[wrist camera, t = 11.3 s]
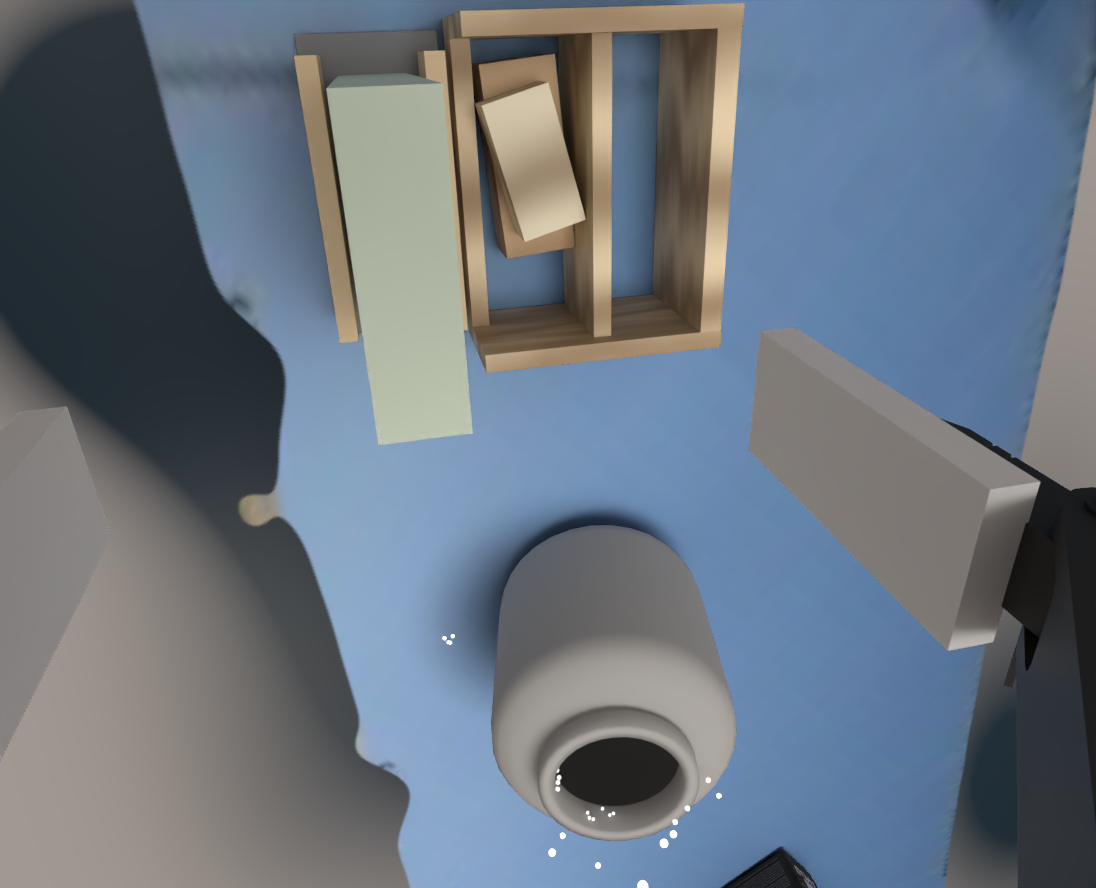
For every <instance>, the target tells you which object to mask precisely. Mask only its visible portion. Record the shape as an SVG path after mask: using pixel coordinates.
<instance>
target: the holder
mask: <svg viewBox="0 0 1096 888" xmlns="http://www.w3.org/2000/svg"><path fill="white" fill-rule="evenodd" d="M294 35H295V41H296V47H297V54H298V56H294V60H295V66H296V72H297V78H298V85H299V91H300V97H301V103H302V109H303V116H304V122H305V128H306V134H307V140H308V147H309V153H310V159H311V165H312V172H313V178H314V184H315V190H316V196H317V203H318V209H319V215H320V221H321V227H322V234H323V240H324V246H325V252H326V258H327V265H328V271H329V277H330V283H331V290H332V296H333V302H334V308H335V314H336V321H337V327H338V333H339V339H340V343H346V342H356V341H359V333H362V329H361V322H360V315H359V308H358V301H357V295H356V288H355V281H354V274H353V267H352V260H351V254H350V247H349V240H348V233H347V226H346V220H345V213H344V206H343V199H342V192H341V185H340V179H339V172H338V165H337V158H336V151H335V145H334V138H333V131H332V124H331V117H330V110H329V104H328V97H327V90H326V88H327V87H328V86H329V85H330V84H331V83H332V82H333V81H334V80H335V78H336V77H337V76H342V75H367V74H391V73H407V74H411V75H415V76H418V77H422V78H426V79H429V80H433V81H436V82H440V83H443V90H444V102H445V114H446V126H447V137H448V149H449V161H450V173H451V184H452V196H453V208H454V220H455V231H456V243H457V255H458V267H459V278H460V290H461V302H462V314H463V325H464V331H465V330H468V324H467V312H466V300H465V288H464V276H463V264H462V252H461V240H460V227H459V215H458V203H457V191H456V179H455V167H454V155H453V143H452V131H451V118H450V106H449V94H448V82H447V70H446V58H445V50H441V51H438V46H437V35H436V30H414V31H381V32H349V33H317V34H294Z"/></svg>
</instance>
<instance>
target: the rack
mask: <svg viewBox="0 0 1096 888" xmlns="http://www.w3.org/2000/svg"><path fill="white" fill-rule="evenodd" d="M743 17H744V3H740V4H702V5H665V6H627V7H590V8H553V9H515V10H478V11H459V12H457V13H454V14H452V15H450V16H448V17H446V18H443V19H442V25H443V37H444V49H445V58H446V70H447V82H448V94H449V106H450V118H451V131H452V143H453V155H454V167H455V179H456V191H457V203H458V215H459V227H460V240H461V252H462V264H463V276H464V288H465V300H466V312H467V324H468V330H469V333H470V335H471V337H472V340H473V342H474V344H475V347H476V349H477V351H478V354H479V356H480V359H481V361H482V363H483V366H484V368H485V370H486V373H492V372H501V371H510V370H519V369H528V368H537V367H546V366H555V365H564V364H573V363H581V362H590V361H599V360H608V359H617V358H626V357H635V356H644V355H653V354H662V353H671V352H680V351H689V350H698V349H707V348H716V347H720V344H721V318H722V304H723V289H724V275H725V261H726V246H727V232H728V218H729V203H730V189H731V175H732V160H733V146H734V132H735V117H736V103H737V89H738V74H739V60H740V46H741V31H742V28H743ZM651 33H660V46H659V82H658V118H657V153H656V189H655V225H654V260H653V294H652V295H642V296H631V297H621V298H611V244H612V35H621V34H651ZM531 37H558V69H559V99H560V108H561V117H562V127H563V136H564V141H565V145H566V149H567V152H568V156H569V159H570V163H571V167H572V170H573V174H574V178H575V181H576V185H577V189H578V192H579V196H580V199H581V203H582V207H583V210H584V214H585V218H586V220H583V221H581V222H578V223H575V224H573V229H574V239H575V247H572V248H566V249H563V275H564V303H559V304H549V305H539V306H528V307H518V308H508V309H497V310H489V309H488V295H487V280H486V266H485V252H484V237H483V223H482V208H481V194H480V180H479V165H478V151H477V136H476V122H475V108H474V93H473V79H472V64H471V50H470V40H471V39H501V38H531Z"/></svg>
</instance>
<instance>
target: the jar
mask: <svg viewBox="0 0 1096 888" xmlns="http://www.w3.org/2000/svg"><path fill="white" fill-rule="evenodd" d="M454 637H455V635H454V634H452V635H451V638H454ZM446 639H447V637H446V636H443V640H446ZM447 644H449V645H451V644H452V641H449V640H448V641H447ZM491 729H492V743H493V753H494V756H495V759H496V762H497V765H498V768H499V770H500V771H501V773H502V775H503V776H504V778H505V779H506V781H507V782H508V784H509V785H510V786H511V787H512V788H513V790H514V791H515V792H516V793H517V794H518V795H519V796H520V797H521V798H522V799H524V800H525V801H526V802H527V803H528V804H529V805H530V806H532V807H533V808H535V809H536V810H538V811H540V812H541V813H543V814H544V815H547V816H549V817H551V818H553V819H554V820H555V821H556V822H557V823H558V824H560V825H561V826H563V827H565V828H566V829H568V830H569V831H572V832H574V833H576V834H579V835H581V836H585V837H589V838H592V839H597V840H606V841H626V840H632V839H639V838H643V837H646V836H649V835H653V834H655V833H658V832H660V831H662V830H664V829H666V828H668V827H670V826H671V825H672V824H674V825H676V824H677V823H678V820H680V819H681V818H682V817H683V816H684V815H685V814H686V813H687V812H688V811H689V810H690V807H691V806H692V805H694V804H695V803H697V802H698V801H700V800H701V799H702V798H703V797H704V796H705V795H706V794H707V793H708V792H709V791H710V790H711V789H712V788H713V787H714V786H715V784H716V783H717V781H718V780H719V778H720V777H721V775H722V774H723V772H724V771H725V769H726V767H727V766H728V764H729V761H730V758H731V756H732V753H733V750H734V748H735V740H736V731H737V728H736V721H735V714H734V708H733V702H732V697H731V694H730V691H729V687H728V684H727V681H726V678H725V674H724V671H723V668H722V664H721V661H720V658H719V654H718V651H717V648H716V645H715V641H714V638H713V635H712V631H711V628H710V625H709V621H708V618H707V615H706V612H705V608H704V605H703V602H702V598H701V595H700V592H699V589H698V587H697V585H696V582H695V580H694V578H693V575H692V573H691V572H690V570H689V568H688V567H687V565H686V564H685V563H684V561H683V560H682V559H681V557H680V556H679V555H678V554H677V553H676V552H675V551H674V550H672V549H671V548H670V547H669V546H668V545H667V544H665V543H664V542H662V541H660V540H658V539H656V538H655V537H653V536H651V535H649V534H647V533H644V532H641V531H638V530H635V529H632V528H626V527H620V526H613V525H596V526H586V527H581V528H576V529H570V530H568V531H565V532H563V533H560V534H557V535H555V536H552V537H550V538H549V539H547V540H545V541H544V542H542V543H540V544H539V545H537V546H535V547H534V548H533V549H532V550H531V551H530V552H529V553H528V554H526V555H525V556H524V557H523V558H522V559H521V560H520V562H519V563H518V565H517V566H516V567H515V569H514V570H513V571H512V573H511V575H510V577H509V580H508V582H507V584H506V586H505V589H504V593H503V597H502V603H501V608H500V617H499V629H498V642H497V654H496V667H495V679H494V692H493V705H492V717H491ZM716 796H717V798H721V794H720V793H717V795H716ZM670 836H671V837H672V838H675V837H676V836H677V833H676V831H674V830H672V831H671V832H670ZM560 838H562V839H564V838H565V833H561V834H560ZM660 845H661V847H663V848H666V847H667V846H668V841H667V840H666V839H661V841H660ZM549 855H550V856H551V857H554V856H555V855H556V851H555V849H550V850H549ZM595 867H596V868H597V869H599V868H600V867H601V864H600V863H599V862H597V863H596V864H595ZM638 888H648V883H647V882H646V881H644V880H641V881H639V882H638Z"/></svg>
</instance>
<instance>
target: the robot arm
mask: <svg viewBox="0 0 1096 888" xmlns="http://www.w3.org/2000/svg"><path fill="white" fill-rule="evenodd" d="M749 451H750V452H751V453H752V454H753V455H754V456H755V457H756V458H757V459H758V460H759V461H760V462H761V463H762V464H763V465H764V466H765V467H766V468H767V469H768V470H769V471H770V472H771V473H772V474H773V475H774V476H775V477H776V478H777V479H778V480H779V481H780V482H781V483H782V484H783V485H784V486H785V487H786V488H787V489H788V490H789V491H790V492H791V493H792V494H793V495H794V496H795V497H796V498H797V499H798V500H799V501H800V502H801V503H802V504H803V505H804V506H805V507H806V508H807V509H808V510H809V511H810V512H811V513H812V514H813V515H814V516H815V517H816V519H817V520H818V521H819V522H820V523H821V524H822V525H823V526H824V527H825V528H826V529H827V530H828V531H829V532H830V533H831V534H832V535H833V536H834V537H835V538H836V539H837V540H838V541H839V542H840V543H841V544H842V545H843V546H844V547H845V548H846V549H847V550H848V551H849V552H850V553H851V554H852V555H853V556H854V557H855V558H856V559H857V560H858V561H859V562H860V563H861V564H862V565H863V566H864V567H865V568H866V569H867V570H868V571H869V572H870V573H871V574H872V575H873V576H874V577H875V578H876V579H877V580H878V581H879V582H880V583H881V584H882V585H883V586H884V587H885V588H886V589H887V590H888V591H889V592H890V593H891V594H892V595H893V596H894V597H895V598H896V599H897V600H898V601H899V602H900V603H901V604H902V605H903V606H904V607H905V608H906V609H907V610H908V611H909V612H910V613H911V614H912V615H913V616H914V617H915V618H916V619H917V620H918V621H919V622H920V623H921V624H922V625H923V626H924V627H925V628H926V629H927V630H928V632H929V633H930V634H931V635H932V636H933V637H934V638H935V639H936V640H937V641H938V642H939V643H940V644H941V645H942V646H943V647H944V648H945V649H946V650H947V651H950V650H955V649H960V648H965V647H970V646H975V645H981V644H986V643H991V642H993V641H994V637H995V634H996V631H997V627H998V624H999V620H1000V617H1001V614H1002V610H1003V608H1004V609H1005V610H1007V611H1008V612H1009V613H1010V614H1011V615H1012V616H1014V617H1015V618H1016V619H1017V620H1018V621H1020V622H1021V623H1022V624H1023V625H1022V629H1021V632H1020V635H1019V638H1018V641H1017V645H1016V648H1015V651H1014V654H1013V657H1012V660H1011V664H1010V667H1009V670H1008V673H1007V676H1006V680H1005V683H1004V685H1005V686H1008V687H1013V685H1014V683H1015V681H1016V686H1017V687H1016V692H1017V693H1016V694H1017V814H1018V815H1017V820H1018V821H1017V822H1018V823H1017V826H1018V827H1017V830H1018V888H1096V488H1093V487H1091V488H1080V489H1074V490H1072V491H1070V490H1068V489H1066V488H1064V487H1063V486H1061V485H1060V484H1058V483H1057V482H1055V481H1053V480H1052V479H1050V478H1048V477H1047V476H1045V475H1043V474H1042V473H1040V472H1039V471H1037V470H1035V469H1034V468H1032V467H1030V466H1029V465H1027V464H1025V463H1024V462H1022V461H1021V460H1019V459H1017V458H1011V454H1009V453H1008V452H1006V451H1004V450H1003V449H1001V448H999V447H998V446H993V445H992V443H991V442H990V441H988V440H986V439H985V438H983V437H981V436H980V435H978V434H977V433H975V432H973V431H972V430H970V429H968V428H965V427H962V426H959V425H957V424H954V423H951V422H948V421H945V420H943V419H940V418H938V417H936V416H935V415H933V414H932V413H930V412H928V411H927V410H925V409H924V408H922V407H921V406H919V405H917V404H916V403H914V402H913V401H911V400H909V399H908V398H906V397H905V396H903V395H901V394H900V393H898V392H897V391H895V390H893V389H892V388H890V387H889V386H887V385H885V384H884V383H882V382H881V381H879V380H877V379H876V378H874V377H873V376H871V375H869V374H868V373H866V372H865V371H863V370H861V369H860V368H858V367H857V366H855V365H853V364H852V363H850V362H849V361H847V360H845V359H844V358H842V357H841V356H839V355H837V354H836V353H834V352H833V351H831V350H829V349H828V348H826V347H825V346H823V345H821V344H820V343H818V342H817V341H815V340H813V339H812V338H810V337H809V336H807V335H805V334H804V333H802V332H801V331H799V330H797V329H796V328H787V329H778V330H769V331H760V340H759V350H758V360H757V371H756V381H755V391H754V402H753V412H752V422H751V433H750V443H749ZM111 538H112V537H111V534H110V531H109V528H108V525H107V522H106V520H105V517H104V514H103V511H102V508H101V505H100V502H99V499H98V496H97V493H96V490H95V487H94V485H93V482H92V479H91V476H90V473H89V470H88V467H87V464H86V461H85V458H84V455H83V452H82V450H81V447H80V444H79V441H78V438H77V435H76V432H75V429H74V426H73V424H72V420H71V417H70V415H69V412H68V409H67V407H58V408H50V409H41V410H30V411H21V412H18V413H17V414H16V415H15V416H14V418H13V419H12V420H11V421H10V422H9V423H8V424H7V425H6V426H5V427H4V428H3V429H2V430H1V431H0V761H1V759H2V757H3V755H4V753H5V751H6V749H7V747H8V745H9V743H10V741H11V739H12V737H13V735H14V733H15V731H16V729H17V727H18V725H19V723H20V721H21V719H22V717H23V715H24V713H25V711H26V709H27V707H28V705H29V703H30V700H31V699H32V696H33V695H34V693H35V691H36V689H37V687H38V685H39V683H40V681H41V679H42V677H43V675H44V672H45V671H46V669H47V667H48V665H49V663H50V660H51V659H52V656H53V655H54V653H55V651H56V649H57V647H58V645H59V643H60V641H61V639H62V637H63V634H64V633H65V631H66V628H67V627H68V625H69V623H70V620H71V618H72V617H73V615H74V613H75V611H76V609H77V606H78V605H79V603H80V601H81V598H82V597H83V594H84V593H85V591H86V588H87V586H88V585H89V583H90V580H91V579H92V576H93V574H94V572H95V570H96V568H97V566H98V564H99V562H100V560H101V558H102V556H103V554H104V552H105V550H106V548H107V546H108V544H109V542H110V540H111Z"/></svg>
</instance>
